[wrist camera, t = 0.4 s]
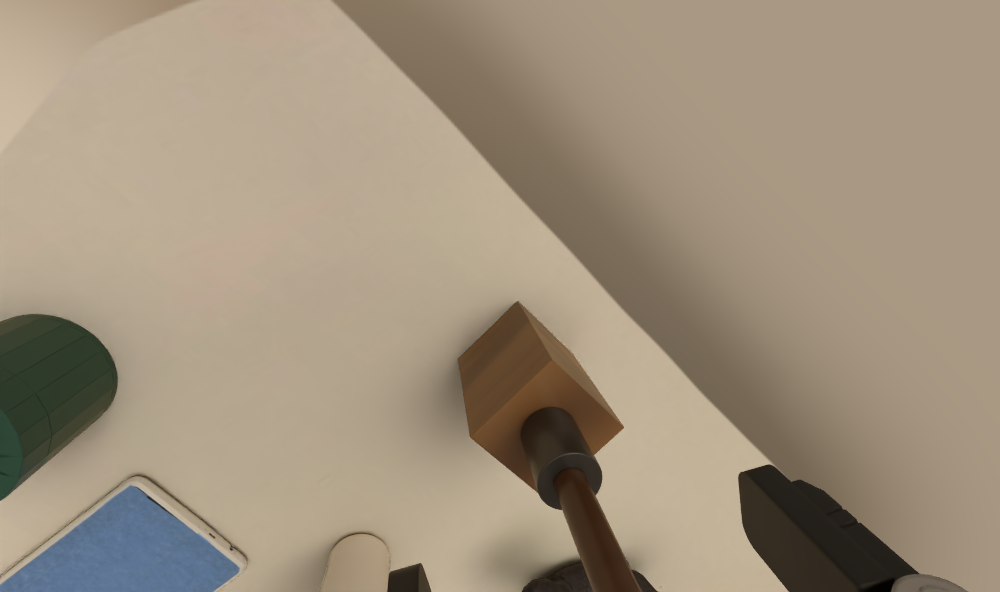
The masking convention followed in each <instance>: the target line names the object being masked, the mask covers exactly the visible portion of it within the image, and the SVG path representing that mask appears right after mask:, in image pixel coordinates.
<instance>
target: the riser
mask: <svg viewBox="0 0 1000 592" xmlns="http://www.w3.org/2000/svg"><path fill="white" fill-rule="evenodd" d="M458 363H459V369H460V376H461V382H462V388H463V395H464V401H465V408H466V414H467V420H468V427H469V433H470V438H472V439H473V440H474V441H475V442H477V443H478V444H479V445H480V446H481V447H483V448H484V449H485V450H486V451H488V452H489V453H490V454H491V455H492V456H494V457H495V458H496V459H497V460H498V461H500V462H501V463H502V464H503V465H505V466H506V467H507V468H508V469H509V470H511V471H512V472H513V473H514V474H516V475H517V476H518V477H519V478H520V479H522V480H523V481H524V482H525V483H526V484H528V485H529V486H530V487H531V488H533V489H534V490H535V491H536V492H537V493H538V491H537V488H536V485H535V482H534V479H533V476H532V473H531V469H530V466H529V463H528V460H527V457H526V454H525V451H524V448H523V445H522V442H521V430H522V427H523V424H524V422H525V421H526V419H527V418H528V417H529V416H530V415H531V414H533V413H534V412H536V411H538V410H540V409H542V408H547V407H557V408H561V409H563V410H565V411H567V412H568V413H570V414H571V415H572V416H573V418H574V419H575V421H576V423H577V425H578V427H579V429H580V431H581V432H582V434H583V436H584V438H585V440H586V442H587V444H588V445H589V447H590V449H591V451H592V453H593V455H595V454H596V453H597V452H598V451H599V450H600V449H601V448H602V447H603V446H604V445H606V444H607V443H608V442H609V441H610V440H611V439H612V438H613V437H614V436H615V435H617V434H618V433H619V432H620V431H621V430H622V429H623V428H624V426H623V425H622V424H621V422H620V421H619V419H618V418H617V416H616V415H615V414H614V412H613V411H612V409H611V408H610V406H609V405H608V404H607V402H606V401H605V399H604V398H603V396H602V395H601V394H600V392H599V391H598V389H597V388H596V386H595V385H594V384H593V382H592V381H591V379H590V378H589V376H588V375H587V374H586V372H585V371H584V369H583V368H582V366H581V365H580V364H579V362H578V361H577V359H576V358H575V356H574V355H573V354H572V353H571V352H570V351H569V350H568V349H567V348H566V347H565V346H564V345H563V344H562V343H561V342H560V341H559V340H558V339H557V338H556V337H555V336H554V335H553V334H552V333H551V332H550V331H549V330H547V329H546V328H545V327H544V326H543V325H542V324H541V323H540V322H539V321H538V320H537V319H536V318H535V317H534V316H533V315H532V314H531V313H530V312H529V311H528V310H527V309H526V308H525V307H524V306H523V305H522V304H521V303H520V302H519V301H517V302H516V303H515V304H514V305H513V306H512V307H511V308H510V309H509V310H508V311H507V312H506V313H505V314H504V315H503V316H502V317H501V318H500V319H499V320H498V321H497V322H496V323H495V324H494V325H493V326H492V327H491V328H490V329H489V330H488V331H487V332H486V333H484V334H483V335H482V336H481V337H480V338H479V339H478V340H477V341H476V342H475V343H474V344H473V345H472V346H471V347H470V348H469V349H468V350H467V351H466V352H465V353H464V354H463V355H462V356H461V357H460V358H459V359H458Z"/></svg>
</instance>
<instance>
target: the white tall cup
mask: <svg viewBox="0 0 1000 592" xmlns="http://www.w3.org/2000/svg"><path fill="white" fill-rule="evenodd" d="M389 568H390V554H389V550H388V548H387V546H386V545H385V544H384V543H383V542H382V541H381V540H380V539H379V538H377V537H375V536H372V535H368V534H355V535H351V536H348V537H346V538H344V539H342V540H341V541H340V542H339V543H337V545H336V546H335V547H334V548H333V550H332V552H331V554H330V557H329V561H328V565H327V570H326V573H325V576H324V579H323V582H322V585H321V588H320V591H319V592H387V589H388V577H389Z"/></svg>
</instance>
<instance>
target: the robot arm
mask: <svg viewBox="0 0 1000 592" xmlns="http://www.w3.org/2000/svg"><path fill="white" fill-rule="evenodd" d="M738 481H739V492H740V503H741V514H742V523H743V527H744V530H745V533H746V535H747V538H748V540H749V541H750V543H751V545H752V546H753V548H754V549H755V551H756V552H757V553H758V554H759V555H760V557H761V558H762V559H763V560H764V562H765V563H766V564H767V565H768V566H769V568H770V569H771V570H772V571H773V573H774V574H775V575H776V576H777V578H778V579H779V580H780V581H781V582H782V584H783V585H784V586H785V587H786V589H787V590H788V591H789V592H967V591H966V590H964V589H963V588H962V587H960V586H958V585H956V584H954V583H952V582H950V581H948V580H945V579H942V578H939V577H935V576H931V575H925V574H919V573H918V572H917V571H916V570H914V569H913V568H912V567H911V566H910V565H909V564H907V563H906V562H905V561H904V560H903V559H902V558H901V557H899V556H898V555H897V554H896V553H895V552H894V551H892V550H891V549H890V548H889V547H888V546H887V545H886V544H884V543H883V542H882V541H881V540H880V539H879V538H878V537H876V536H875V535H874V534H873V533H872V532H871V531H869V530H868V529H867V528H866V527H865V526H864V525H862V524H861V523H858V522H857V520H856V519H855V518H854V517H853V516H852V515H851V514H850V513H849V512H848V511H846V510H843V509H842V506H841V505H839V504H838V503H837V502H836V501H835V500H834V499H832V498H831V497H830V496H829V495H828V494H827V493H826V492H824V491H823V490H821V489H819V488H817V487H815V486H813V485H811V484H808V483H806V482H804V481H802V480H797V481H793V482H791V481H790V480H788V479H787V478H786V477H785V476H784V475H783V474H782V473H781V472H780V471H779V470H778V469H777V468H775V467H774V466H772V465H765V466H761V467H758V468H755V469H751V470H748V471H744V472H741V473H740V474H739V477H738ZM387 592H431V589H430V586H429V583H428V580H427V577H426V574H425V571H424V568H423V566H422V564H421V563H419V564H415V565H412V566H408V567H405V568H401V569H398V570H394V571H391V572H390V573H389V577H388V589H387Z"/></svg>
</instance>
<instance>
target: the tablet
mask: <svg viewBox="0 0 1000 592" xmlns="http://www.w3.org/2000/svg"><path fill="white" fill-rule="evenodd" d="M246 567H247V561H246V558H245V557H244V556H243V555H242V554H241V553H240V552H238V551H237V550H236V549H235V548H232V547H231V544H230V543H228V542H227V541H226V540H225V539H224V538H223V537H221V536H220V535H219V534H218V533H217V532H215V531H214V530H213V529H212V528H211V527H210V526H208V525H207V524H206V523H204V522H203V521H202V520H201V519H200V518H198V517H197V516H196V515H195V514H193V513H192V512H191V511H190V510H188V509H187V508H186V507H185V506H183V505H182V504H181V503H179V502H178V501H177V500H175V499H174V498H173V497H171V496H170V495H169V494H167V493H166V492H165V491H163V490H162V489H161V488H159V487H158V486H157V485H155V484H154V483H153V482H151V481H150V480H149V479H147V478H145V477H142V476H133V477H131V478H129V479H127V480H126V481H125V482H123V483H122V484H121V485H120V486H118V487H117V488H116V489H114V490H113V491H112V492H111V493H109V494H108V495H107V496H105V497H104V498H103V499H102V500H100V501H99V502H98V503H96V504H95V505H94V506H93V507H91V508H90V509H89V510H88V511H86V512H85V513H83V514H82V515H81V516H79V517H78V518H77V519H76V520H74V521H73V522H72V523H70V524H69V525H68V526H67V527H65V528H64V529H62V530H61V531H60V532H59V533H57V534H56V535H55V536H53V537H52V538H51V539H49V540H48V541H47V542H46V543H44V544H43V545H42V546H40V547H39V548H38V549H36V550H35V551H34V552H33V553H31V554H30V555H29V556H27V557H26V558H25V559H23V560H22V561H21V562H20V563H18V564H17V565H16V566H14V567H13V568H12V569H10V570H9V571H8V572H7V573H5V574H4V575H3V576H1V577H0V592H217V591H219V590H220V589H222V588H223V587H224V586H226V585H227V584H228V583H230V582H231V581H232V580H234V579H235V578H236V577H238V576H239V575H240V574H242V573H243V571H244V570H245V569H246Z"/></svg>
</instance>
